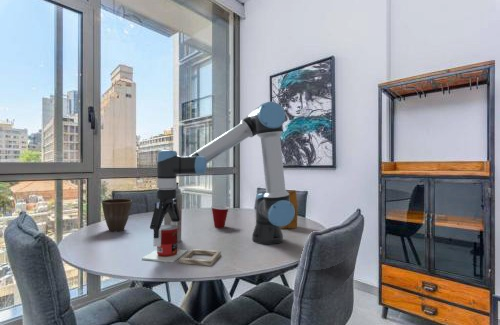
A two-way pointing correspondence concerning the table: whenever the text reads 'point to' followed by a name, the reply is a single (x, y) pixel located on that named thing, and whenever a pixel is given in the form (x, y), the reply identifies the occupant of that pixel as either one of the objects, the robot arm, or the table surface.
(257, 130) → the robot arm
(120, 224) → the plant pot
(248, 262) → the table surface
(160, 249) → the canned food
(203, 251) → the square wooden frame
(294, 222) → the coffee package
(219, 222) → the plastic cup
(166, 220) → the thermos bottle
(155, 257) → the sage pad
